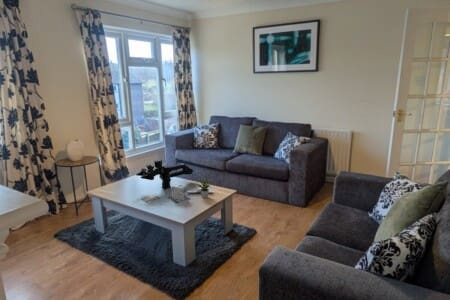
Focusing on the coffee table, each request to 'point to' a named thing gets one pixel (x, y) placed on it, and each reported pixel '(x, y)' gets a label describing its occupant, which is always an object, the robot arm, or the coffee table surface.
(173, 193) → the light bulb box
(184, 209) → the coffee table surface
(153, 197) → the label plate
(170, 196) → the label frame
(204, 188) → the house plant
